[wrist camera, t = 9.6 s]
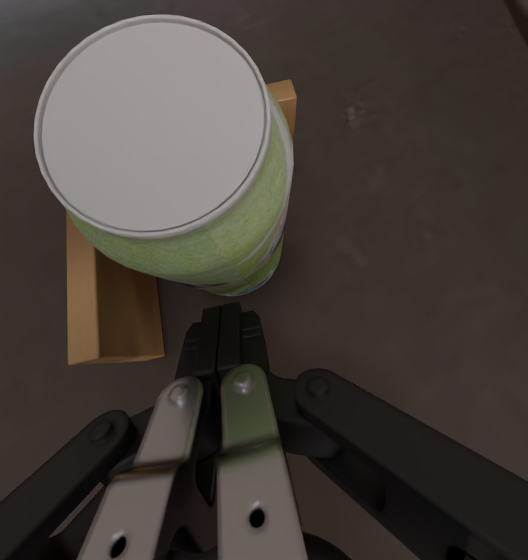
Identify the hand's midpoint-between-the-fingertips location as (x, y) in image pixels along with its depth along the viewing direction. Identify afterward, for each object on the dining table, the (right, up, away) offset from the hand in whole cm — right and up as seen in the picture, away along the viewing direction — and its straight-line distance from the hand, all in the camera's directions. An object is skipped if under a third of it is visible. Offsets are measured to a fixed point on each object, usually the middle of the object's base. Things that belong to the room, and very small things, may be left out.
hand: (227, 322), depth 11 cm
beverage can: (0, +3, +6) cm, 6 cm away
